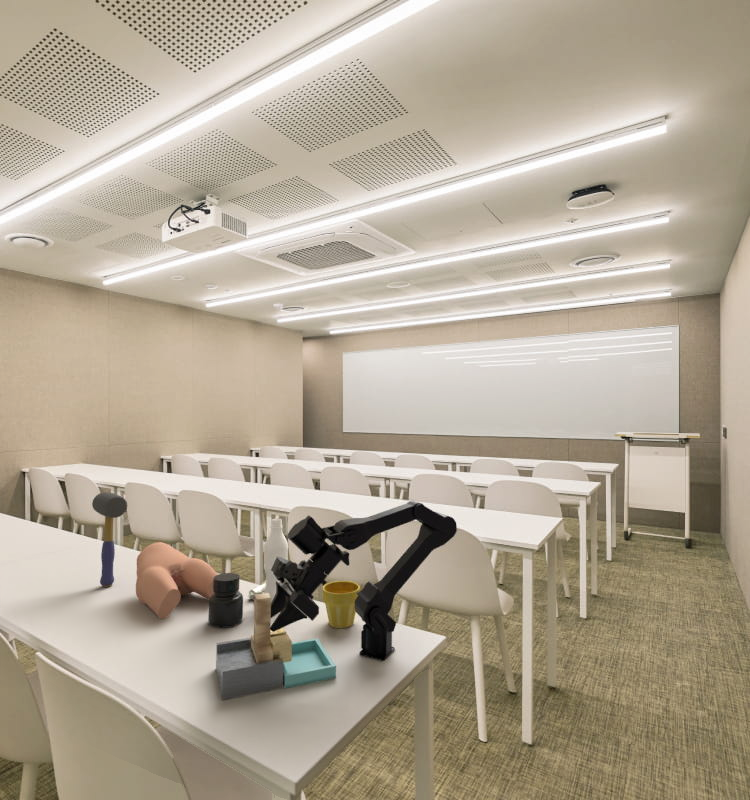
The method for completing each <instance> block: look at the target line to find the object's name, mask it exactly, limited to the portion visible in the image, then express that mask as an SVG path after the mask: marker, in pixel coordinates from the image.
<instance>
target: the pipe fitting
mask: <svg viewBox="0 0 750 800" xmlns="http://www.w3.org/2000/svg"><path fill="white" fill-rule="evenodd" d="M265 587H266V579H265V580H264V581H262V582H261V583H260V585H258V586H257V587H254V588H252V589H250V590H249V591H248V598H249V599H250V600H252V601H254V596H255V595H256V594H263V593H264V590H265Z"/></svg>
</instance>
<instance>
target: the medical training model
mask: <svg viewBox="0 0 750 800" xmlns="http://www.w3.org/2000/svg"><path fill="white" fill-rule="evenodd" d="M216 575H219V573H218V572H216V570H215V569H214V568H213V567H212V566H211V565H210V564H209V563H208V562H206V561H204V560H202V559H200V558H193V557H191V558H189V556H187V555H186V554H185V553H183V552H181V551H180V550H177V549H176V548H174V547H173V546H171V545H169V544H168V543H165V542H162V541H161V542H160V541H158V542H153V543H151V544H149V545H148V546H146V547H144V548H143V549H142V550H141V551H140V553H139V554H138V555H137V557H136V582H135V595H136V597H137V599H138V600H139V602H141V604H143V605H147V606H148V607H149V608H150V609H151V610H152V611H153V613H155V614H156V615H157V617H159V619H161V620H164V619H166V618H168V617H169V616H170V614H172V612H173V611H174V609H175V608H176V607H177V605H178V604H179V603H180V601H181V599H182V598H181V597H182V596H187V595H189V594H192V593H196V594H198V595H200V596H201V597H203V598H205V599H206V600H208V601H209V598H210V597H211V596H212V595H213V593H214V592H213V578H214V577H215V576H216ZM181 595H182V596H181ZM163 618H164V619H163Z"/></svg>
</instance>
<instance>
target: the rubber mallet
mask: <svg viewBox="0 0 750 800" xmlns="http://www.w3.org/2000/svg"><path fill="white" fill-rule="evenodd" d="M91 503H92V508H93V510H94V511H95V512H96V513H98V514H99V515H101V516H104V535H103V537H104V538H103V543H102V547H101V552H100V553H101V557H100V559H101V576H100V580H99V584H100V585H101V586H102V587H103V588H108V587H111V586H113V584H114V582H115V577H114V562H115V561H114V560H115V556H116V555H115V554H116V553H115V551H116V550H115V542H114V522H115V521H114V519H115V518H119V517H121V516H123V515H124V514H125V513H126V511H127V509H128V502H127V500H126V498H124V497H123V496H121V495H119V494H116V493H113V492H106V491H104V492H99V493H98V494H97V495H96V496H94V498H93V500H92V502H91Z"/></svg>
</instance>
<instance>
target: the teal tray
mask: <svg viewBox="0 0 750 800" xmlns="http://www.w3.org/2000/svg"><path fill="white" fill-rule="evenodd" d="M336 678H337V665H336V664H335V662H334V661H333V659H332V657H330V655H329V654H328V652H327V650H326V649H325V647H324V646H323V644H322V643H321V641H320V640H319V638H312V639H311V638H310V639H306V640H299V641H295V642H292V661H291V662H285V663H283V689H289V688H293V687H298V686H303V685H309V684H312V683H317V682H318V683H319V682H322V681H326V680H332V679H336Z"/></svg>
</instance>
